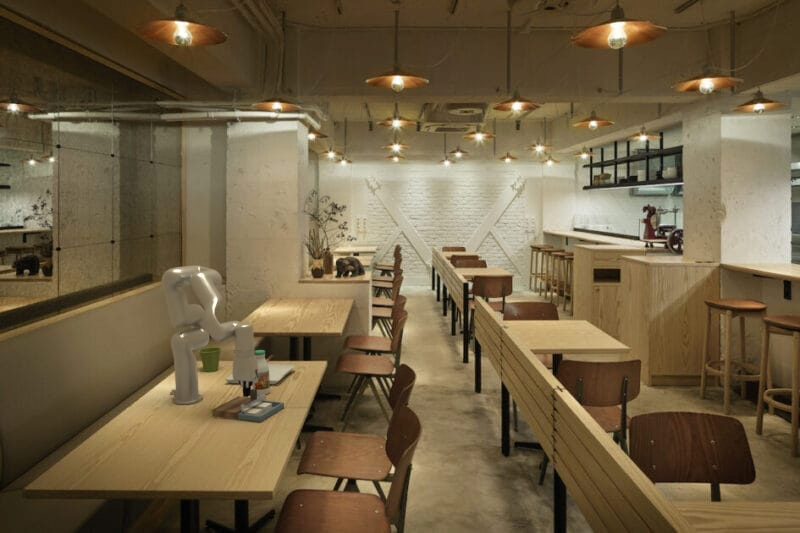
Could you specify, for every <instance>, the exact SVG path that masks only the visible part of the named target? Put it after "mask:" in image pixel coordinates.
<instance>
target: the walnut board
mask: <svg viewBox="0 0 800 533" xmlns="http://www.w3.org/2000/svg"><path fill="white" fill-rule="evenodd" d="M248 401H250V396H248V397H243V396H236V397H234V398H232V399H230V400H228V401H226V402H223V404H221V405H218V406H217V407H215V408H213V409H211V412H212V413H211V414H212V418H220V419H226V420H227V419H229V420H235V419H236V420H237V421H239V420H238V413H240V412H242V411H241V405H242V404H244V403H246V402H248Z"/></svg>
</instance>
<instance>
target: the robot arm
mask: <svg viewBox="0 0 800 533" xmlns="http://www.w3.org/2000/svg"><path fill="white" fill-rule="evenodd" d="M222 283H223V278H222V275H221V274H220V273H219V271H217V270H216V269H213V268H209V267H205V266H202V265H194V264H193V265H183V266H177V267H171V268H169V269H167V270H166V271H165V272H164V273H163V275H162V277H161V288H162V290H163V293H164V296H165V298H166V299H165V300H166V305H167V306H166V307H167V309H168V315H169V320H170V324H171V325H172V327H173V328H175V329H184V328H186V327H187V328H188V327H190V329H189V328H188V329H185V330H181V331H177V332H175V333H174V334H173V335H172V336H171V338H170V346H171V350H172V356H173V363H174V380H175V382H174V384H175V389H174V388H173V389H171V391H170V392H169V395H170V396H174V398H172V403H173V404H175V405H179V406H180V405H181V406H183V405H192V404H196V403H199V402H201V401H202V400H203V395H202V394H199V392H200V391H199V377H198V376H199V374H198V360H197V357H196V355H195V354H194V353H193V351H196V350H200V349H203V348H206V346H208V344H209V342H210V337H211V338H212V340H213V341H215V342H217V343H224V342H227V341H231V340H234V341H235V342H234V343H235V345H234V346H235V349H233V353H235V355H234V357H233V360H232V361H233V362H232V374H233V379H234V380H235V381H236V382H239V383H238V384H239V385H240V387H241V388H242V397H250V390H251V389H252V387H253V384H255V383H257V382H258V379H257V378H258V364H257V359H256V356H255V337H254V336H255V335H254V325H253V324H252V323H250V322H241V321H240V320H230V321H226V322H223V323H220V322H219V320H218V318H217V316H216V311H215V310H216V309H217V308H218V307H219V306H220V305H221V304H222V303H223V296H222V295H221V293H220V292H219V290H218V288H220V287H221V286H222ZM185 286H190V287H191V289H192V291H193V292H194V294H195V295H196V297H197V299H198V301H199V302H200V304H201V305H202V306H201V305H199V304H198V303H192V304H189V302H188V296H187V293H186V292H185V291H184V290H183V289H182V288H181V287H185Z"/></svg>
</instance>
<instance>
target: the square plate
mask: <svg viewBox="0 0 800 533" xmlns="http://www.w3.org/2000/svg"><path fill="white" fill-rule="evenodd" d="M267 364H268V367H269V379H270V385H275V384H278V383H279V382H280V381H281V380H282V379H283V378H285V376H287V375H288V374H289V373H290V372H292V370H294V368H296V365H294V364H282V363H281V364H280V363H278V364H277V363H275V364H274V363H267ZM224 380H225V382H228V383H230V384H240V383H239V382H236V381H235V380H234V379H233V373H232V374H230V375H229V376H228V377H226V378H225V379H224Z"/></svg>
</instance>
